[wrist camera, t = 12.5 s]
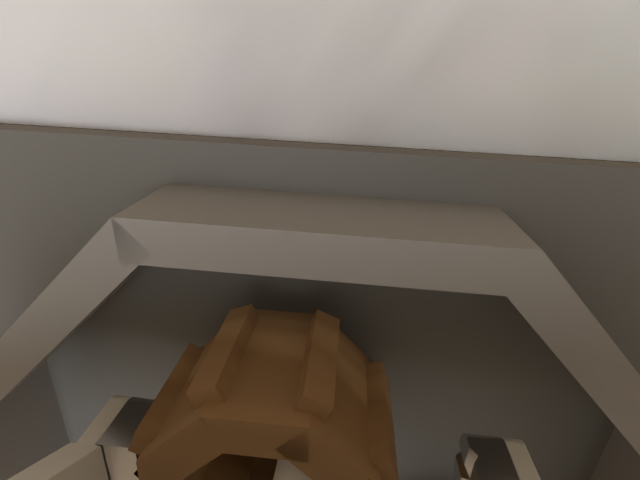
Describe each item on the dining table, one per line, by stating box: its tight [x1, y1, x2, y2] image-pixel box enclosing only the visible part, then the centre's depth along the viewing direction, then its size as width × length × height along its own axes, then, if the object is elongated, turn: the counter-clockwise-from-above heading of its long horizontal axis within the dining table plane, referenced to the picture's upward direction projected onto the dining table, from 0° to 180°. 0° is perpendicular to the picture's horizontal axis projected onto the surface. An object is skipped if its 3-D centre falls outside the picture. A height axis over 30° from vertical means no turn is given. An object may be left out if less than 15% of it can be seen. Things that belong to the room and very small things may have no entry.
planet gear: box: [128, 304, 399, 480], centre depth 11 cm, size 6×6×4 cm
